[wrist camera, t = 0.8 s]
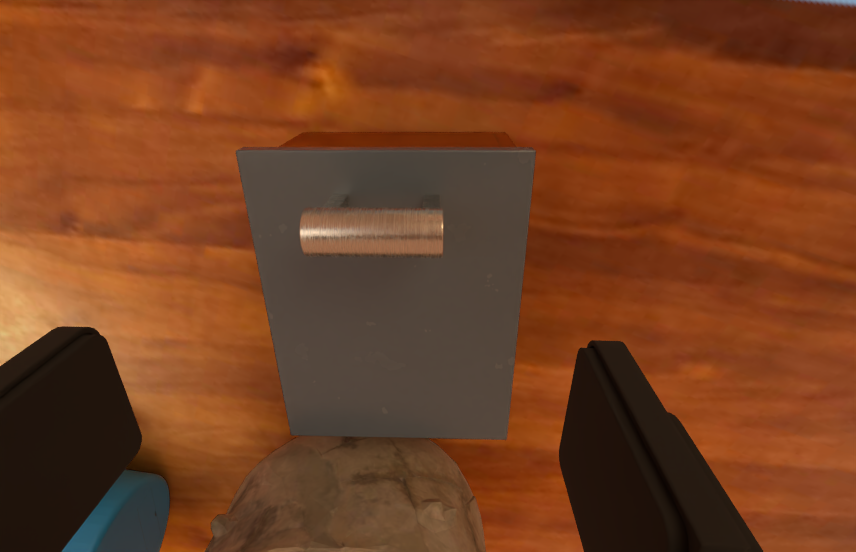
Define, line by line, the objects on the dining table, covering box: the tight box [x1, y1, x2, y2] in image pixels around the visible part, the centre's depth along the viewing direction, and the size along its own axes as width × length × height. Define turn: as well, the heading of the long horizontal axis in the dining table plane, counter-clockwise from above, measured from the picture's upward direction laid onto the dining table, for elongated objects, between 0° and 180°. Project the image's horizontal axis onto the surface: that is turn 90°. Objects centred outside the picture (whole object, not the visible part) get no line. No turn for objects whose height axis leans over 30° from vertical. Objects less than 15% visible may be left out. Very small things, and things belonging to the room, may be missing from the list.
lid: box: [236, 147, 536, 440], centre depth 21 cm, size 16×13×5 cm
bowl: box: [205, 436, 486, 552], centre depth 34 cm, size 22×22×15 cm
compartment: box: [279, 132, 516, 147], centre depth 27 cm, size 16×13×9 cm
